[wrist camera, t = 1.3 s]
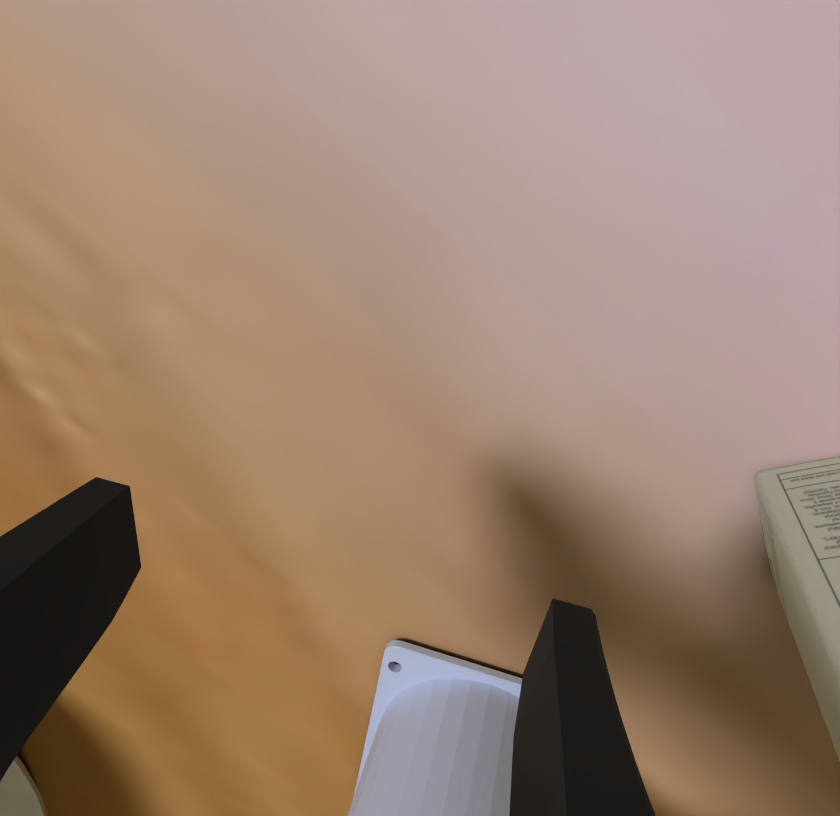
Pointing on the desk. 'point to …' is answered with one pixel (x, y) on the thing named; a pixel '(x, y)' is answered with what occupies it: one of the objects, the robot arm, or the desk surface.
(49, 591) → the robot arm
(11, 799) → the portable electronic device stand
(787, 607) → the skincare box
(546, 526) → the desk surface
